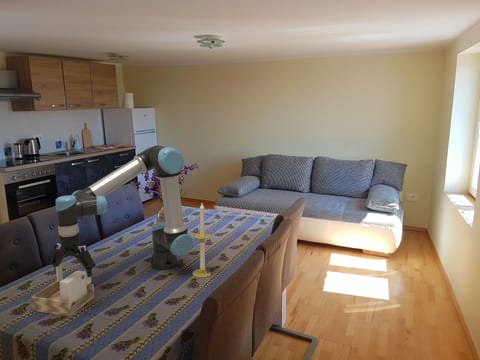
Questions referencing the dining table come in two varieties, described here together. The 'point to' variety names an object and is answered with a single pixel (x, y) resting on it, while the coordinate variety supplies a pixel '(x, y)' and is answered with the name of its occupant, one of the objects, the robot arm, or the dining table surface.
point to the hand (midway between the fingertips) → (74, 281)
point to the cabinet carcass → (58, 300)
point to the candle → (201, 246)
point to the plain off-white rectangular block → (73, 288)
